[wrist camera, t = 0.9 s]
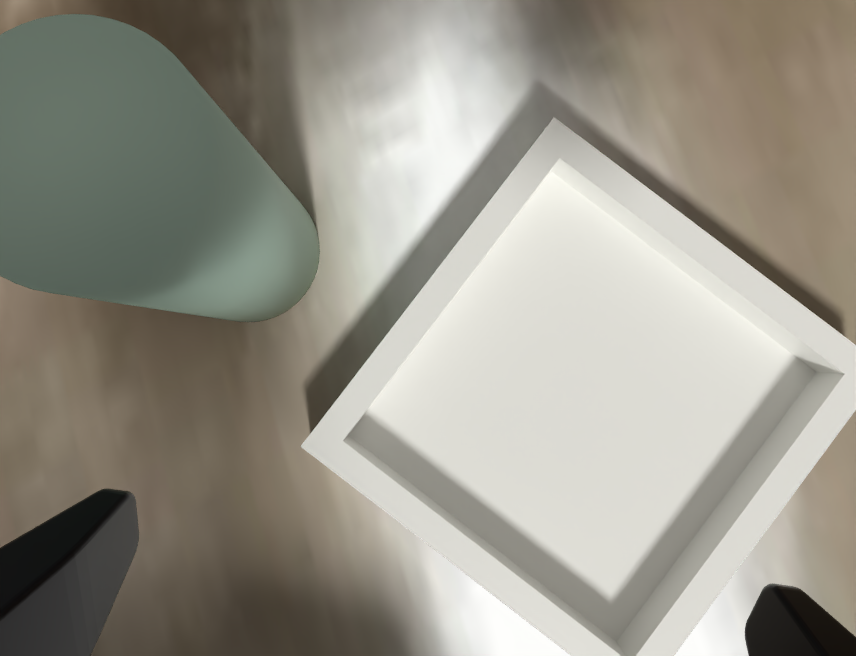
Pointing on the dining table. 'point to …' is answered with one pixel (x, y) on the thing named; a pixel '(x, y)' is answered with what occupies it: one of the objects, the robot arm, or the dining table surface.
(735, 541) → the tray
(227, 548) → the dining table surface
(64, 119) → the grey-green post
